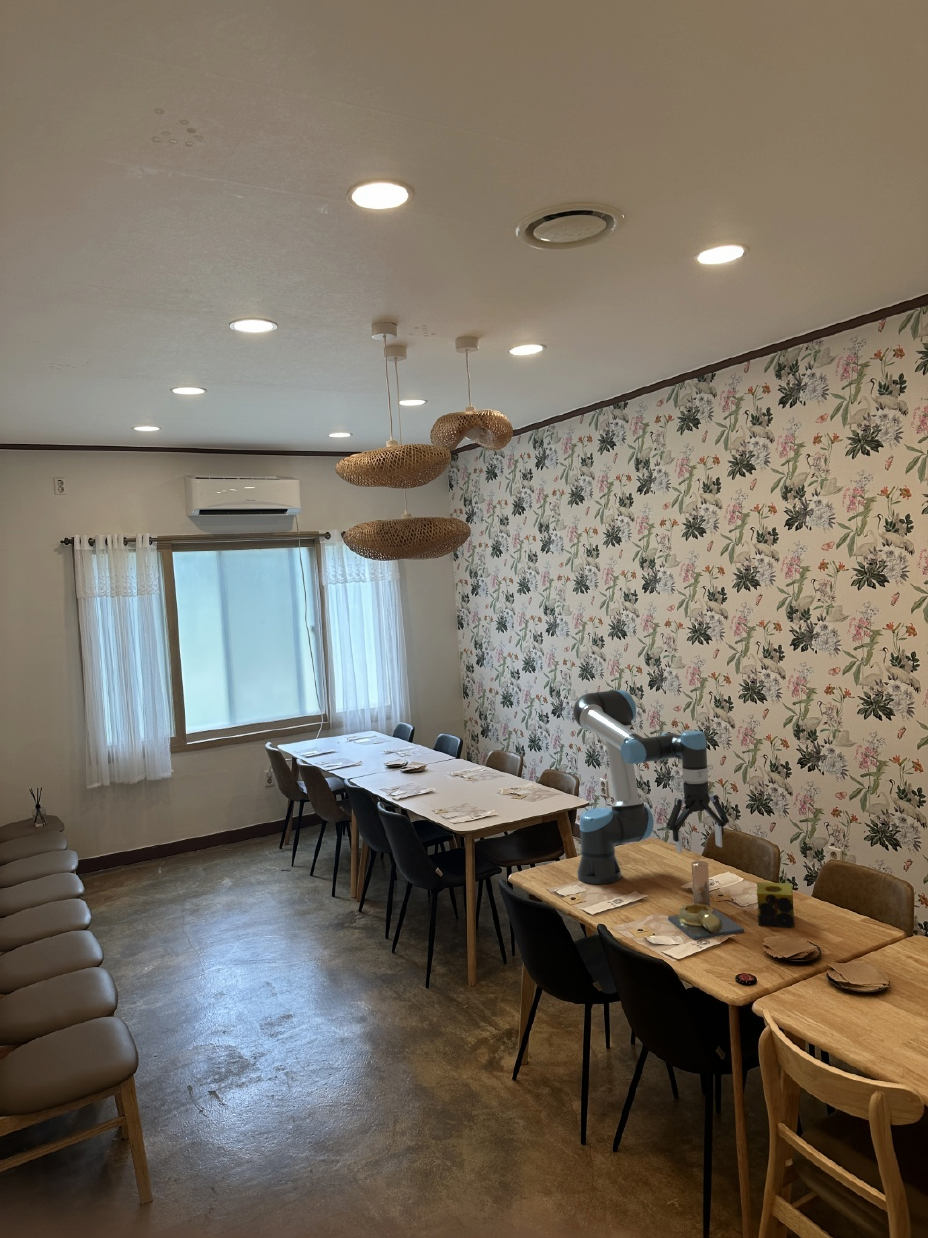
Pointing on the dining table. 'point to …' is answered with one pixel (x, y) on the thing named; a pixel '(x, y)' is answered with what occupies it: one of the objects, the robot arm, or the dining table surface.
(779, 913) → the olive cube piece
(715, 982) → the dining table surface
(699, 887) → the pipe stub
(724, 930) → the fitting base
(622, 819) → the robot arm
